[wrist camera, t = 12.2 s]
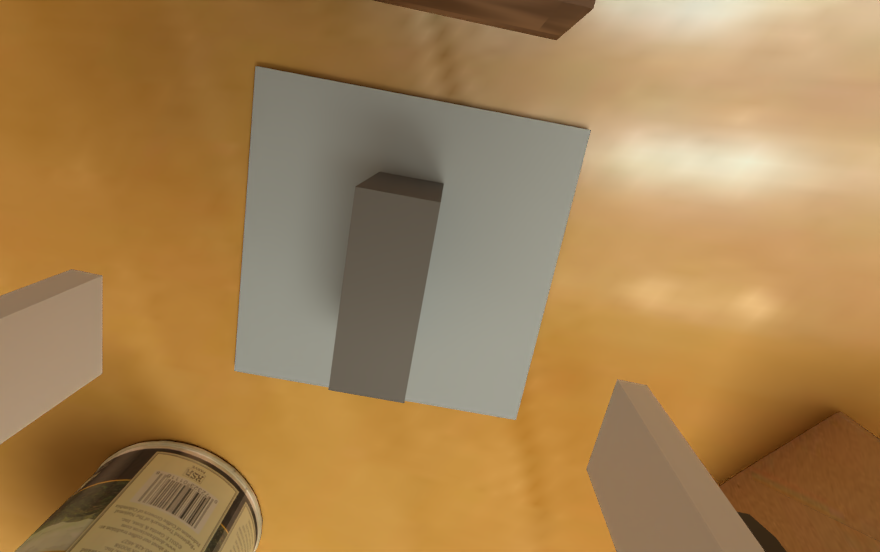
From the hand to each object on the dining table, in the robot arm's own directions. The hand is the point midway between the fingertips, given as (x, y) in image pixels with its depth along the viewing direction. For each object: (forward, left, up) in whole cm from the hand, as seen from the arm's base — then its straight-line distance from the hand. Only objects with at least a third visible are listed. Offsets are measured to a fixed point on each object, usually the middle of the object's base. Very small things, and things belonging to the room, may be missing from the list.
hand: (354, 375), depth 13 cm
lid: (0, 0, -13) cm, 13 cm away
